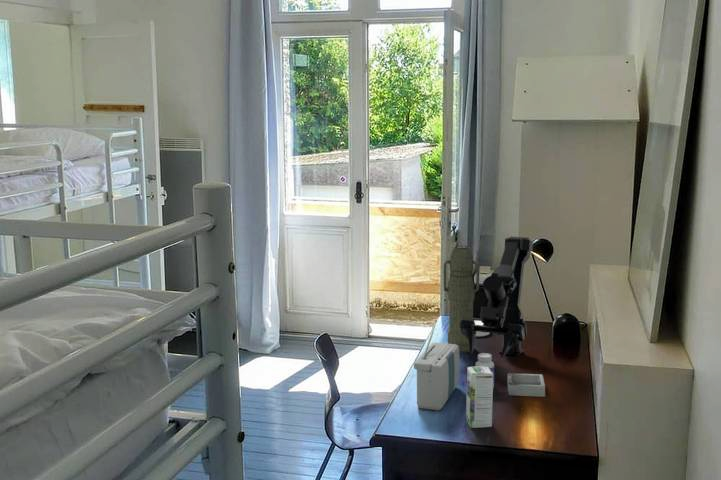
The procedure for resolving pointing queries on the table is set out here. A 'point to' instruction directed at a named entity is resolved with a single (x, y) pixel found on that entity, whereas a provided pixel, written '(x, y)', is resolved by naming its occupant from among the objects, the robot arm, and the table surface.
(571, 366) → the table surface
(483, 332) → the white round tub
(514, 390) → the housing
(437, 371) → the stereo radio cassette player
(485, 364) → the pill bottle
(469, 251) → the thermos
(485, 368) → the syrup box
